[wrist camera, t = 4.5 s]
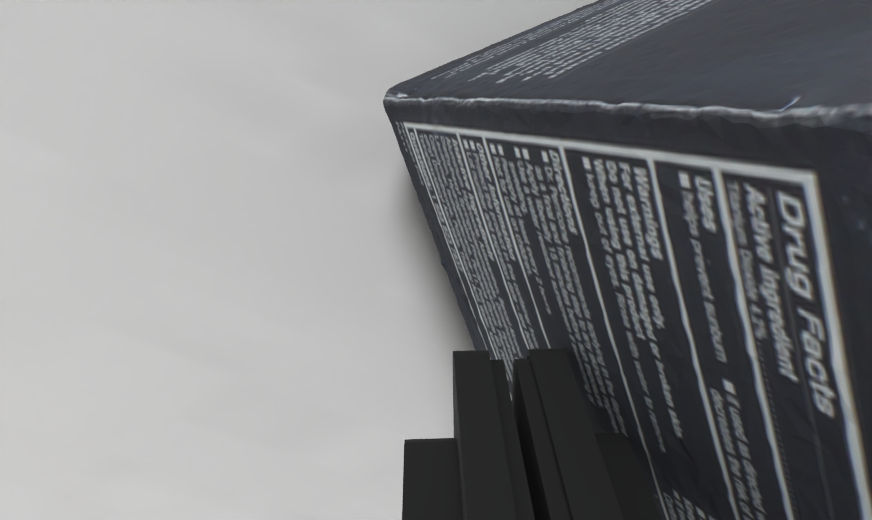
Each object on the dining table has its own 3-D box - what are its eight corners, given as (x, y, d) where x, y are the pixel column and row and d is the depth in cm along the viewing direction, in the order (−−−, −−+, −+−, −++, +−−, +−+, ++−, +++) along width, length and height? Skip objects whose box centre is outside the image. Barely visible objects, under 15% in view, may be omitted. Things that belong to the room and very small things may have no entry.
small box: (754, 393, 19) (1383, 721, 9) (537, 527, 17) (1022, 1083, 8) (655, -31, 15) (1527, -215, 6) (368, 90, 14) (893, 123, 4)
